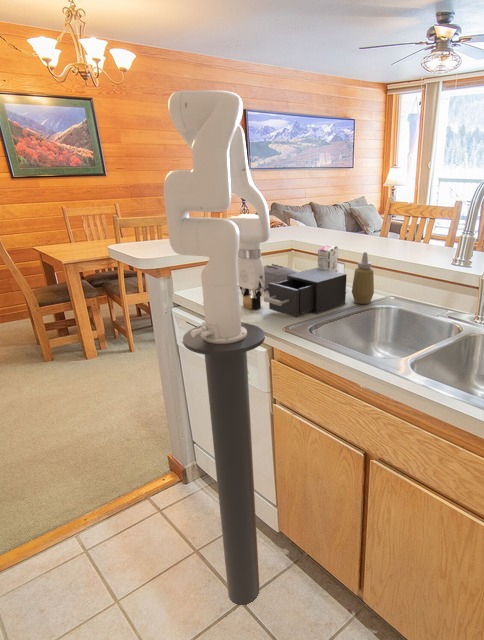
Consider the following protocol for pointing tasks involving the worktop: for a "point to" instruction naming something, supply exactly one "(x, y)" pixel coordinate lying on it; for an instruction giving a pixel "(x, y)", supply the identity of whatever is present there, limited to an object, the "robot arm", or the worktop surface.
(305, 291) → the grey drawer with handle
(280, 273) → the soft grey pack
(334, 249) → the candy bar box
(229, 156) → the robot arm
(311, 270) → the grey open box
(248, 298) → the block
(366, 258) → the squeeze bottle
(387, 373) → the worktop surface
